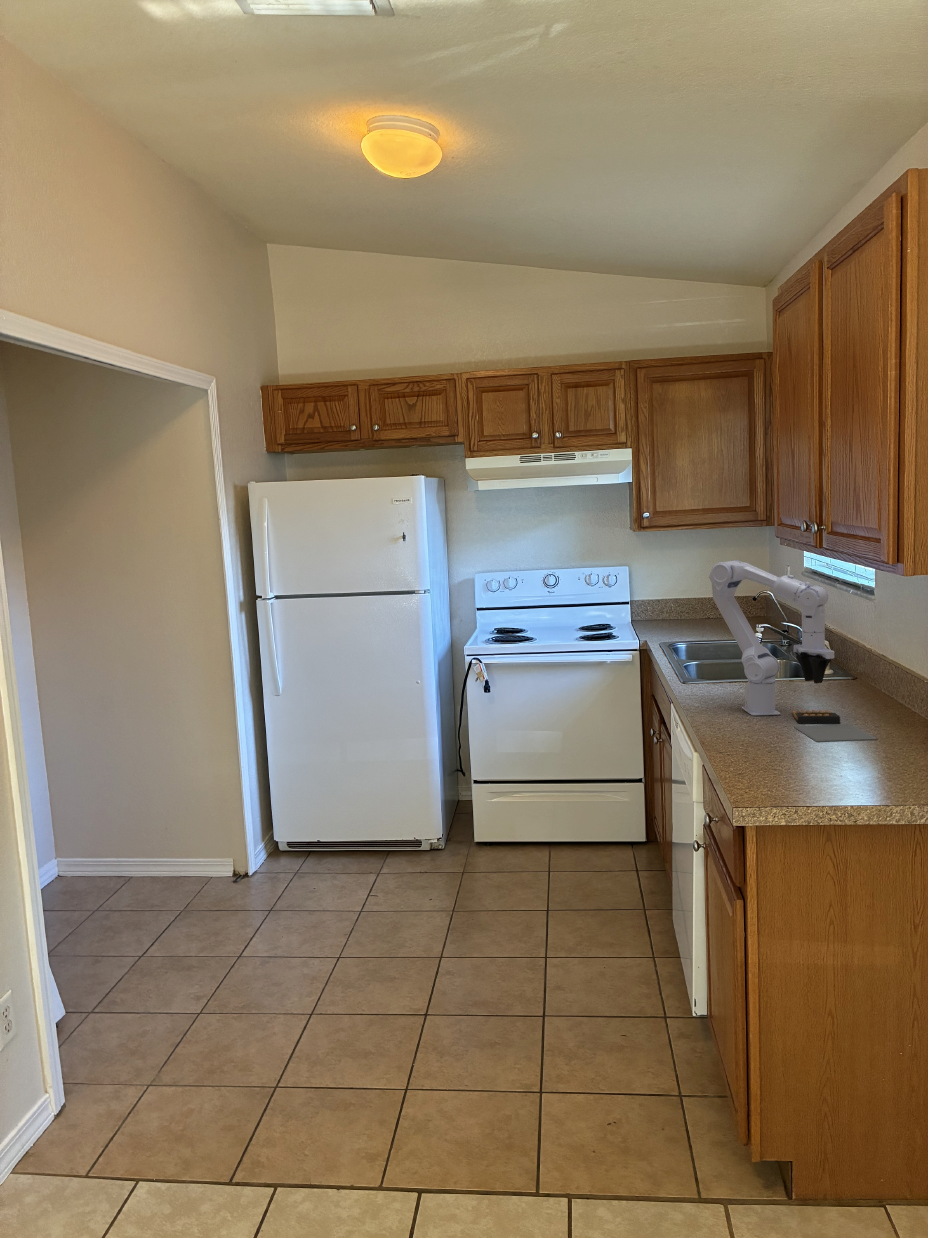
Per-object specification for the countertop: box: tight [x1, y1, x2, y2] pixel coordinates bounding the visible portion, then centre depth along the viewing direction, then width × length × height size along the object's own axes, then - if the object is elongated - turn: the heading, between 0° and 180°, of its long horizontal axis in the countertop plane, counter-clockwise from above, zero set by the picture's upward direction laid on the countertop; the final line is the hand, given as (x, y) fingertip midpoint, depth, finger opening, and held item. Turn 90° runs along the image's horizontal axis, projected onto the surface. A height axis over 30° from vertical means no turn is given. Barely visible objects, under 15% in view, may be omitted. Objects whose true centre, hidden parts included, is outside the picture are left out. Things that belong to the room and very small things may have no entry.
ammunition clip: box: [791, 709, 841, 724], centre depth 251 cm, size 11×2×12 cm
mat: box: [793, 723, 878, 743], centre depth 235 cm, size 15×15×1 cm
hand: (813, 681), depth 249 cm, fingers open, 3 cm apart
